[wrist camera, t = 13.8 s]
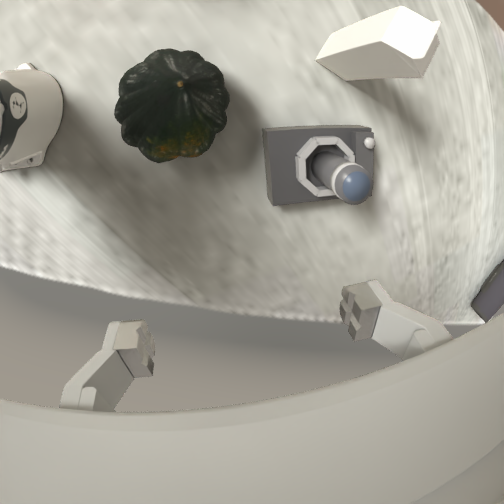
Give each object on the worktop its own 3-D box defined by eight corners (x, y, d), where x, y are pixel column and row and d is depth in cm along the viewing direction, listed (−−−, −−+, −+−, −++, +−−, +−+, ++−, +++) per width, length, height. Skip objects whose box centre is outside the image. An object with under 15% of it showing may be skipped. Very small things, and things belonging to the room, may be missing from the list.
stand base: (267, 197, 45) (276, 211, 40) (262, 128, 39) (270, 132, 34) (358, 188, 46) (376, 200, 41) (359, 125, 41) (379, 130, 35)
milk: (360, 54, 35) (460, 42, 16) (345, 81, 37) (443, 81, 18) (330, 32, 32) (420, -2, 14) (313, 60, 35) (400, 36, 16)
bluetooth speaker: (472, 308, 72) (489, 327, 63) (465, 299, 68) (483, 319, 59) (511, 256, 64) (529, 272, 55) (506, 243, 60) (527, 260, 52)
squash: (109, 173, 34) (166, 176, 25) (94, 70, 27) (147, 27, 18) (189, 149, 43) (262, 149, 34) (179, 62, 36) (251, 37, 27)
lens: (310, 183, 41) (337, 207, 32) (309, 151, 38) (338, 167, 29) (340, 180, 41) (373, 204, 32) (340, 149, 38) (375, 165, 30)
